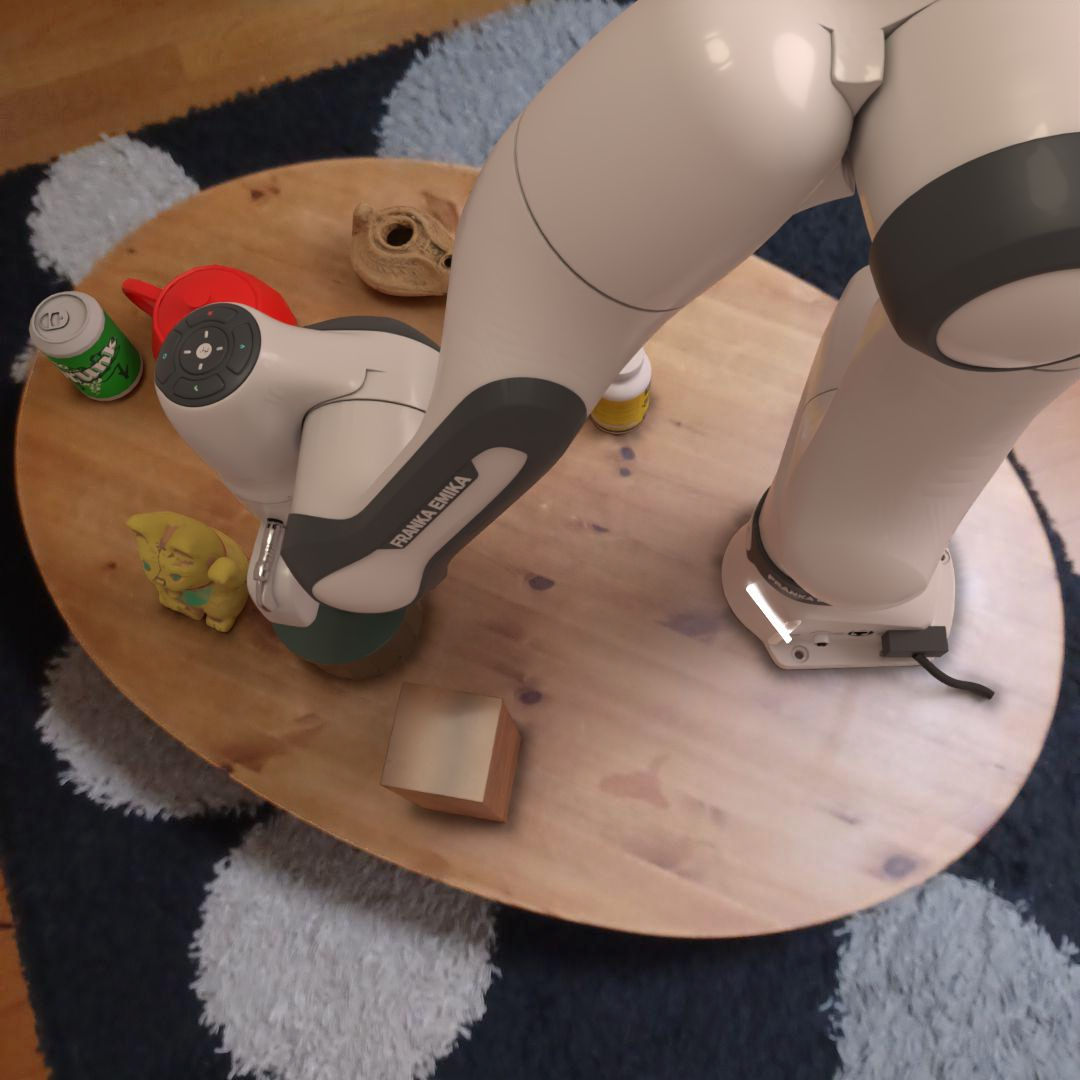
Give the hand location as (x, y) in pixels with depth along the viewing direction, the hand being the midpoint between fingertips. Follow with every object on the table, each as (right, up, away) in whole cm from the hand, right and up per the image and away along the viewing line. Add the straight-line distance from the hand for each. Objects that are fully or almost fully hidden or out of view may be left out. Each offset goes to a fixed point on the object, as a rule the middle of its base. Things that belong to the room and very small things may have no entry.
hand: (337, 529), depth 86 cm
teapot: (-16, +19, +26) cm, 36 cm away
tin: (-1, -9, +15) cm, 17 cm away
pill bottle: (+26, +13, +22) cm, 36 cm away
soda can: (-30, +17, +26) cm, 44 cm away
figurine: (-15, -6, +17) cm, 24 cm away
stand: (+11, -23, +9) cm, 27 cm away
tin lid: (-1, -6, +7) cm, 9 cm away
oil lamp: (+3, +30, +29) cm, 42 cm away
